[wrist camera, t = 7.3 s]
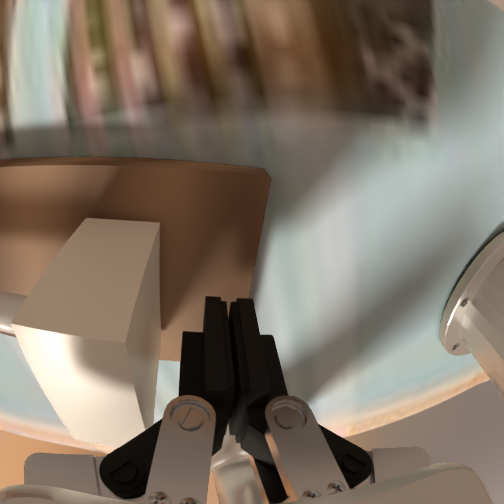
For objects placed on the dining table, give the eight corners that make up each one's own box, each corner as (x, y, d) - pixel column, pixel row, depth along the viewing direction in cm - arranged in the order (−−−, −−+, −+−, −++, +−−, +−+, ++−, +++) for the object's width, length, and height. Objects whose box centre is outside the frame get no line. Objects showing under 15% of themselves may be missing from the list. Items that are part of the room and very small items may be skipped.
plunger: (160, 222, 11) (125, 342, 6) (161, 338, 14) (151, 452, 8) (-38, 212, 9) (-115, 283, 4) (-10, 312, 12) (-54, 391, 6)
